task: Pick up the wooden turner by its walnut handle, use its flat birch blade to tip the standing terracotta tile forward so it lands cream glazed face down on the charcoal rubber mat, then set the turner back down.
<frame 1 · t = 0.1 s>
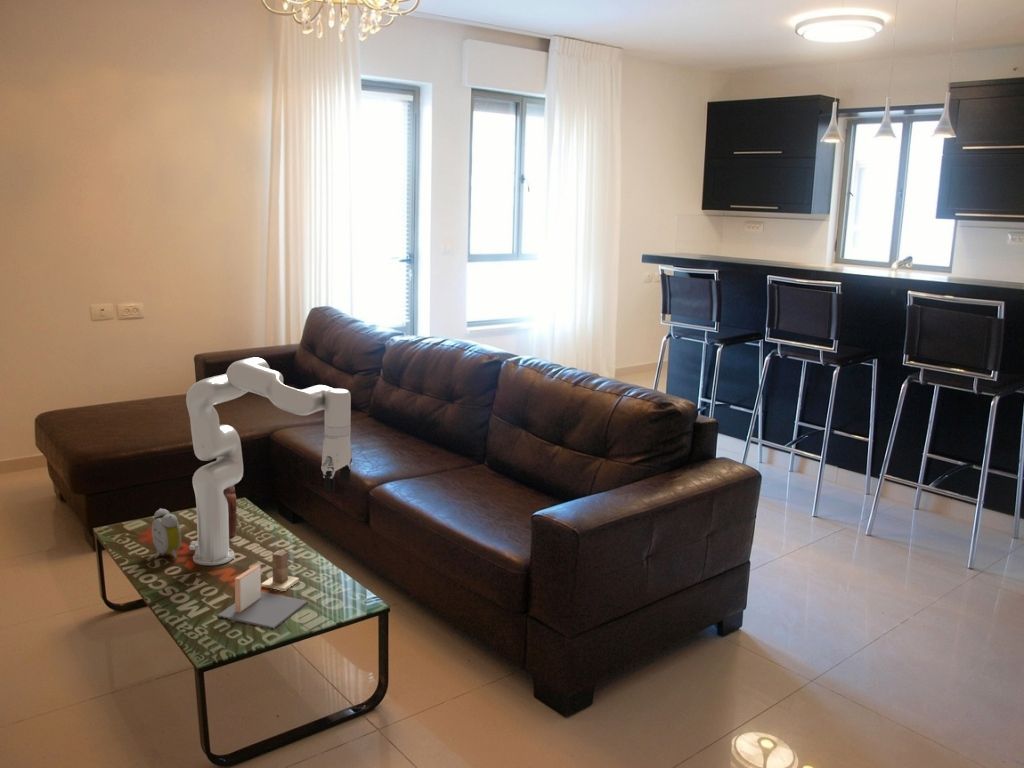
hand: (337, 485, 248), 31 cm above the table, tool pointing down, fingers open, 9 cm apart
alarm clock: (164, 556, 267), on the table
turner: (280, 584, 251), on the table
wooden figurine: (226, 532, 289), on the table
tile: (248, 588, 235), point 6 cm above the table, touching mat
mat: (263, 609, 235), on the table
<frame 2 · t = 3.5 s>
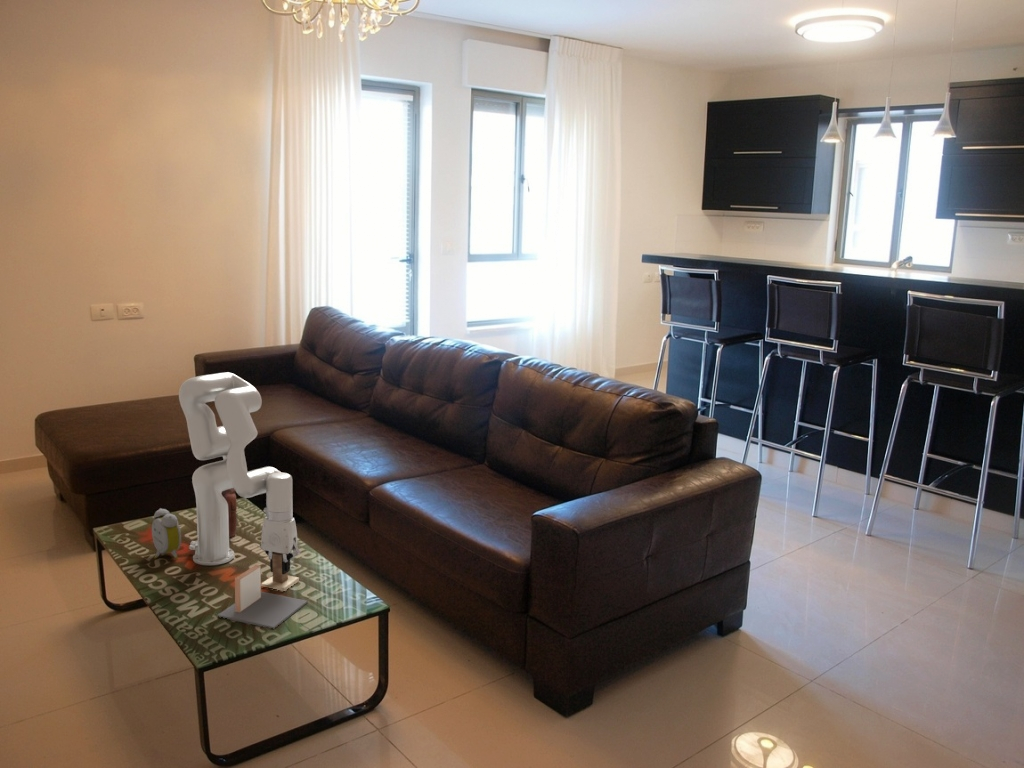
hand: (280, 571, 250), 4 cm above the table, tool pointing down, fingers closed on turner, 3 cm apart
turner: (280, 584, 251), on the table, touching gripper
everything else where it was.
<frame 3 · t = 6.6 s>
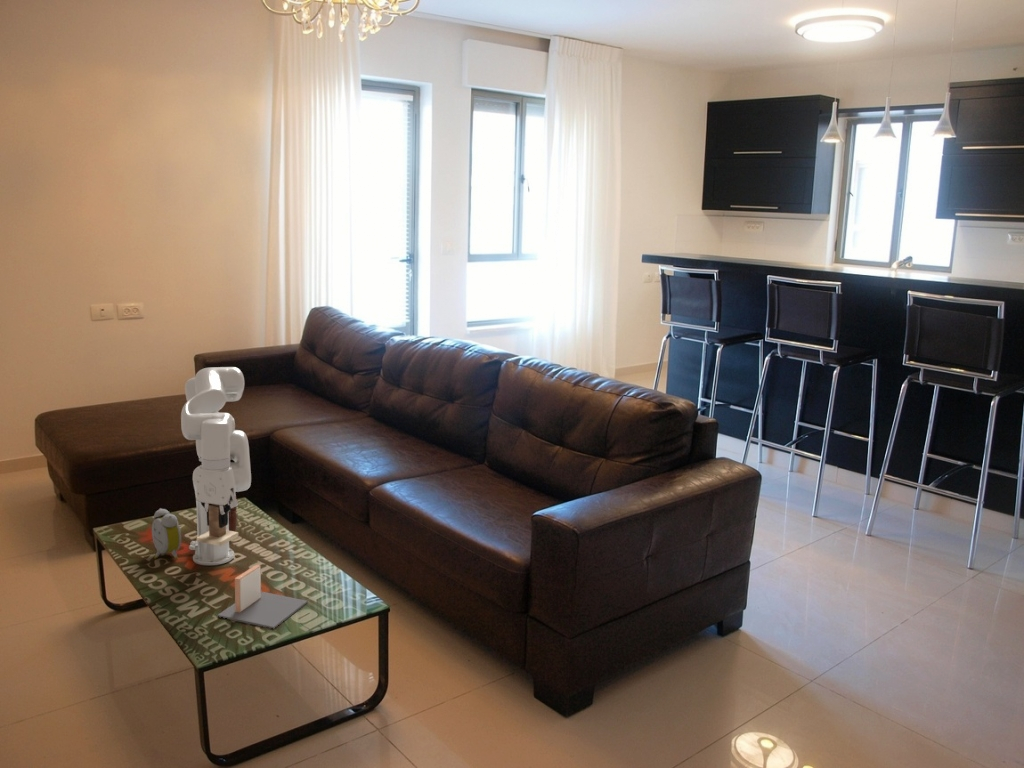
hand: (217, 524, 235), 23 cm above the table, tool pointing down, fingers closed on turner, 3 cm apart
turner: (217, 538, 235), point 19 cm above the table, touching gripper
everything else where it was.
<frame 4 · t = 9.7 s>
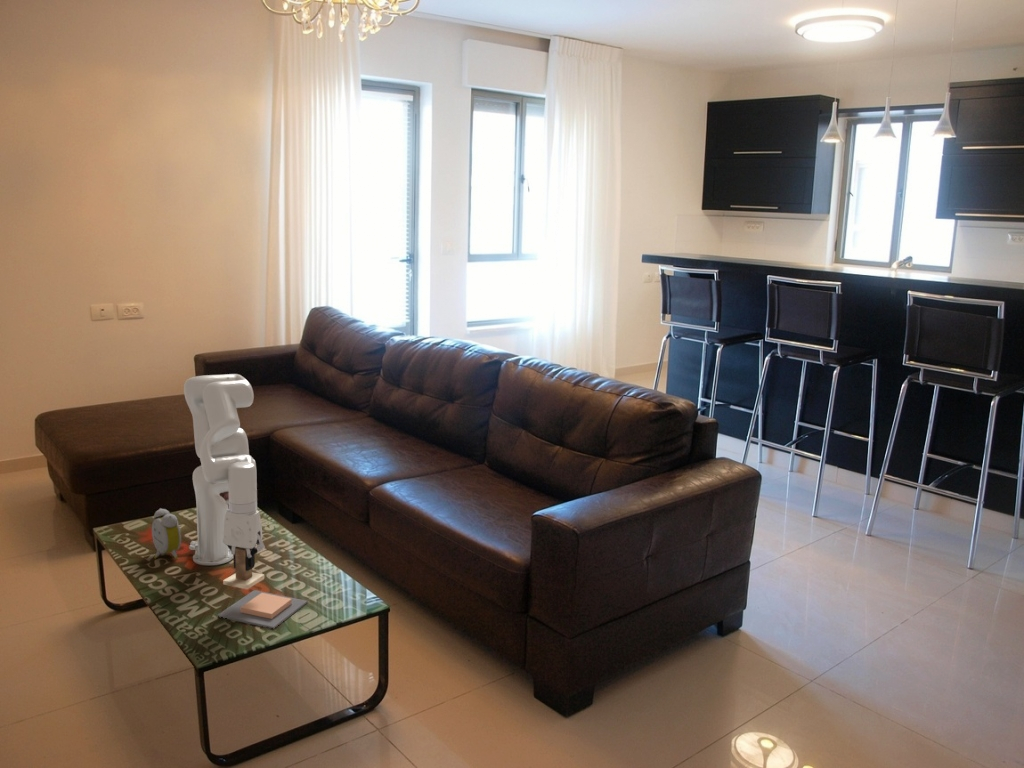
hand: (244, 567, 234), 12 cm above the table, tool pointing down, fingers closed on turner, 3 cm apart
turner: (244, 581, 235), point 8 cm above the table, touching gripper
tile: (266, 605, 234), point 1 cm above the table, tilted 90°, touching mat
everything else where it was.
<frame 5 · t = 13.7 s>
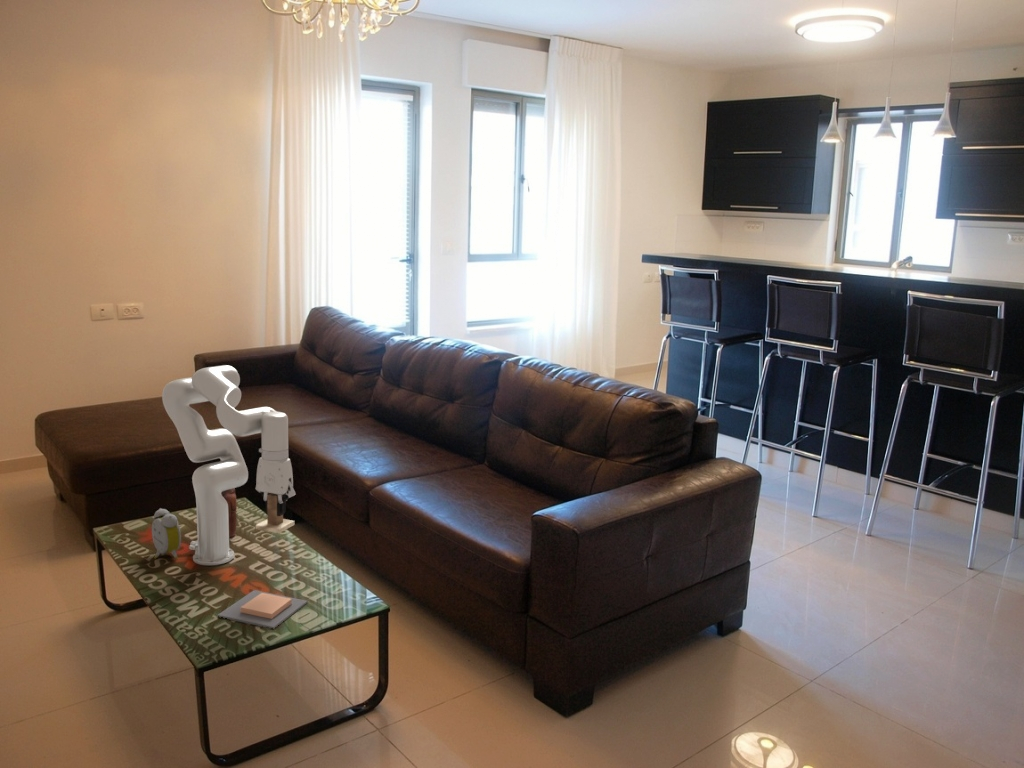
hand: (275, 513, 246), 23 cm above the table, tool pointing down, fingers closed on turner, 3 cm apart
turner: (275, 526, 246), point 19 cm above the table, touching gripper
everything else where it was.
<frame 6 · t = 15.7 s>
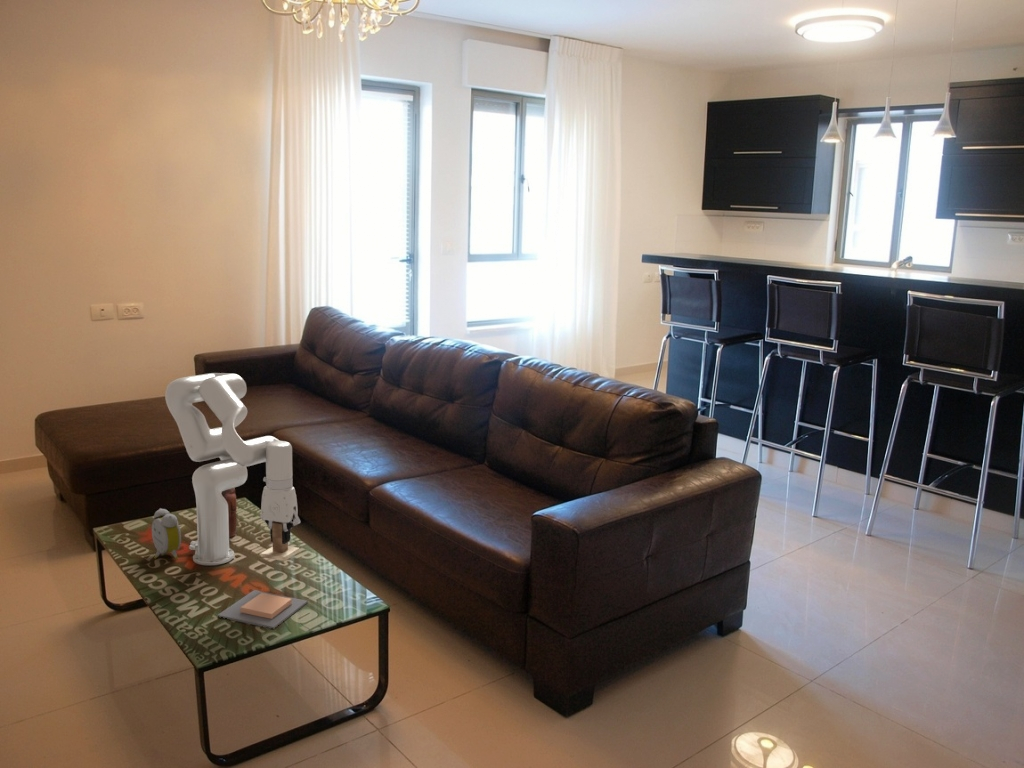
hand: (280, 540, 248), 14 cm above the table, tool pointing down, fingers closed on turner, 3 cm apart
turner: (280, 554, 249), point 10 cm above the table, touching gripper
everything else where it was.
when the fingers open (6 cm above the table, at t = 17.5 s): turner drops 2 cm, on the table.
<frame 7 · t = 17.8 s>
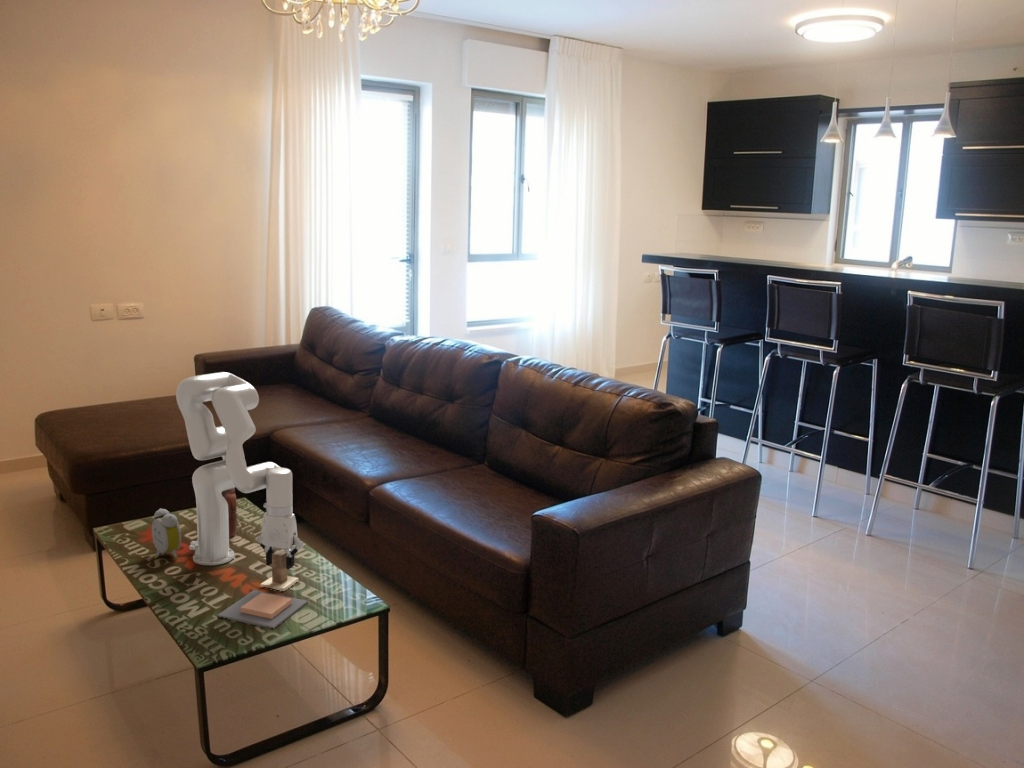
hand: (280, 565, 250), 6 cm above the table, tool pointing down, fingers open, 6 cm apart
turner: (279, 584, 251), on the table
everything else where it was.
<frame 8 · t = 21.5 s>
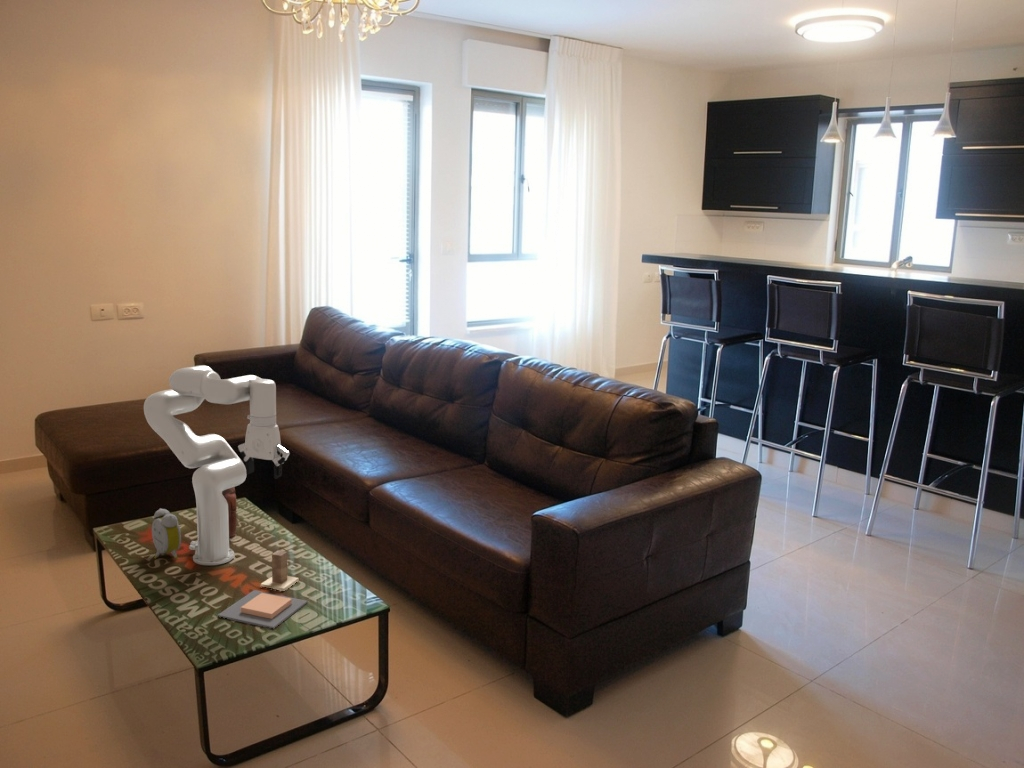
hand: (264, 475, 251), 32 cm above the table, tool pointing down, fingers open, 9 cm apart
nothing on the table moved.
at the end: tile inside the target area (0.2 cm from its centre), point 1.5 cm above the table; the gripper is holding nothing; turner tilted 0° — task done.
